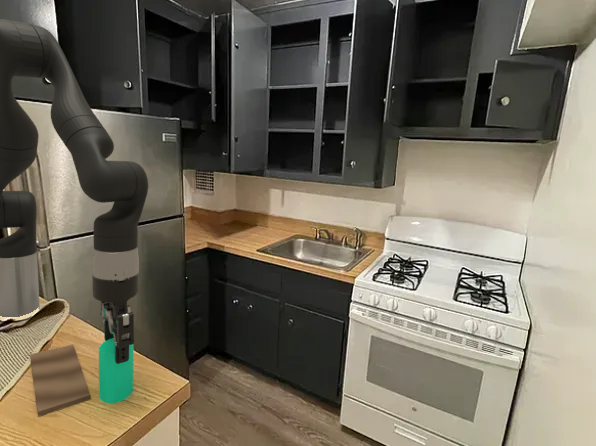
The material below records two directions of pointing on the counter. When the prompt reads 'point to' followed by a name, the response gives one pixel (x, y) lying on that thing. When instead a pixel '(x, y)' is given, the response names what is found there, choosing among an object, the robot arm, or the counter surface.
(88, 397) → the board
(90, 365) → the counter surface
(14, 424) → the counter surface
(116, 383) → the candle
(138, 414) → the counter surface
